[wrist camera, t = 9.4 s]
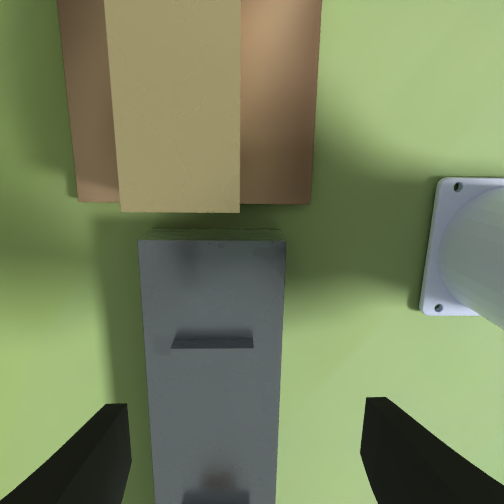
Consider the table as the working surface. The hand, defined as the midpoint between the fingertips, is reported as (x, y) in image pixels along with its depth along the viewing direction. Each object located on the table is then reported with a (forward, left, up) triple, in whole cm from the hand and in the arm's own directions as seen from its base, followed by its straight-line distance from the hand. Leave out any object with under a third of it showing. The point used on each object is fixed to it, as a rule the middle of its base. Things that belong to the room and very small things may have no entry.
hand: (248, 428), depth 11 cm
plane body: (+2, +7, -10) cm, 13 cm away
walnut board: (+3, -11, -10) cm, 15 cm away
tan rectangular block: (+3, -10, -10) cm, 14 cm away
